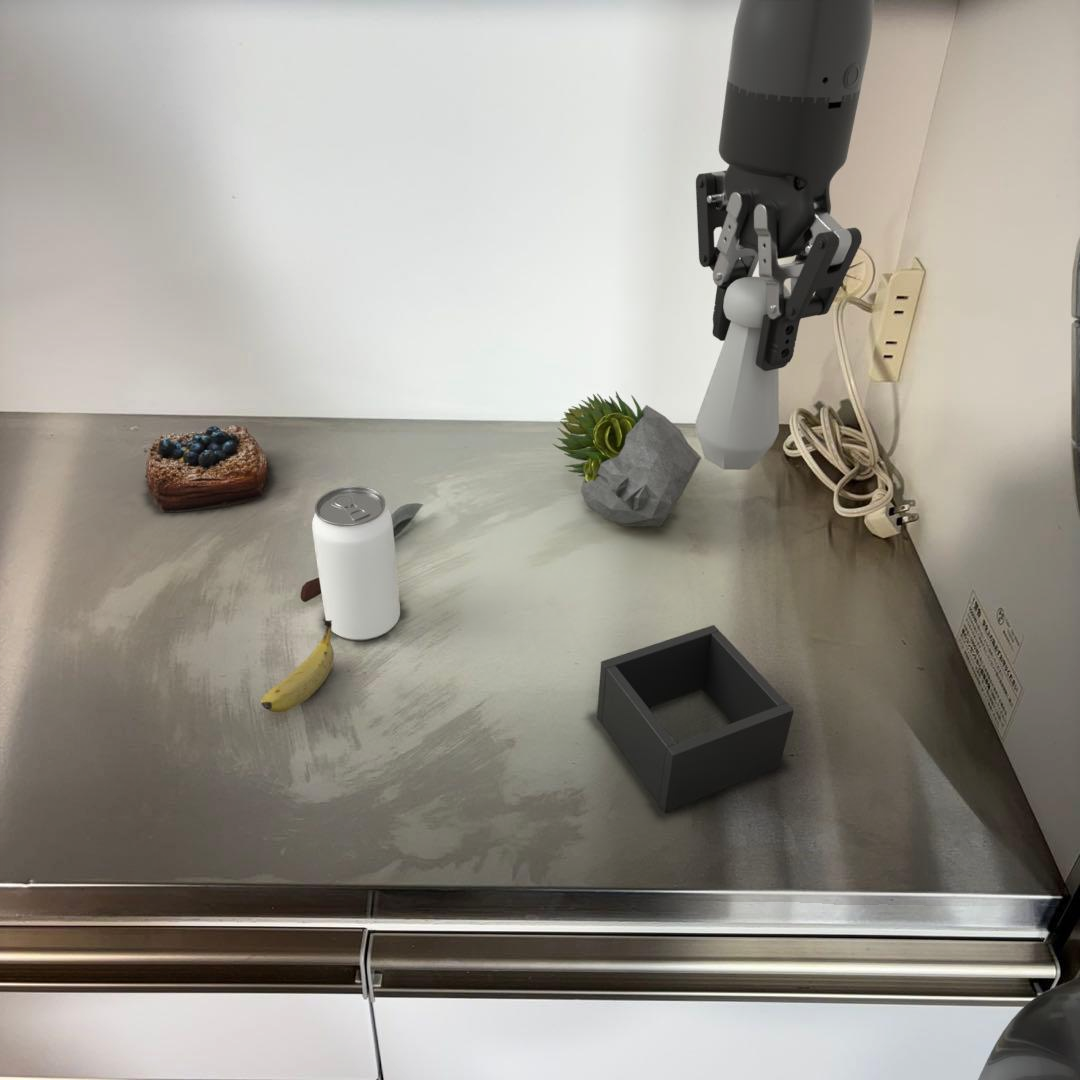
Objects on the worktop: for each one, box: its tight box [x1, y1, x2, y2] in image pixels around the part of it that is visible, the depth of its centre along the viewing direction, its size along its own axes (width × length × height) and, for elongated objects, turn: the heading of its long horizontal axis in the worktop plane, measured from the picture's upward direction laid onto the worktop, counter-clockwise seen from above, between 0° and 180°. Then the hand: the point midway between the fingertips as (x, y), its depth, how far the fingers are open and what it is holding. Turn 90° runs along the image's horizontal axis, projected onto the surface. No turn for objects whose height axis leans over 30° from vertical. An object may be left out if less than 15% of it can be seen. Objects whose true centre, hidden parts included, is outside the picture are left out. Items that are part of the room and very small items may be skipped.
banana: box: [260, 618, 335, 713], centre depth 76 cm, size 10×2×4 cm, turn 162°
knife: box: [300, 502, 424, 603], centre depth 91 cm, size 18×2×3 cm, turn 151°
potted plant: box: [552, 391, 702, 528], centre depth 97 cm, size 12×13×15 cm
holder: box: [596, 624, 795, 814], centre depth 72 cm, size 10×10×6 cm
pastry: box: [145, 424, 269, 513], centre depth 101 cm, size 11×12×6 cm
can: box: [311, 485, 401, 642], centre depth 81 cm, size 6×6×12 cm
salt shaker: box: [695, 276, 791, 471], centre depth 66 cm, size 6×6×13 cm
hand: (749, 350), depth 65 cm, fingers closed on salt shaker, 4 cm apart
